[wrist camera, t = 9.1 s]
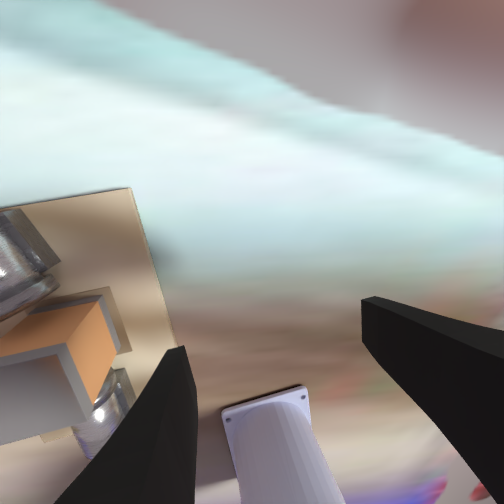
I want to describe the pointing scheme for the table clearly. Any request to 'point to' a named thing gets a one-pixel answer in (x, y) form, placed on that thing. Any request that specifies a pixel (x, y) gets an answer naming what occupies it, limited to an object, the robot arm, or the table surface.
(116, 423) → the shaft
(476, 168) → the table surface
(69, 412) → the orange rectangular block
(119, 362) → the plate
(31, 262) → the shaft
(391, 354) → the robot arm
